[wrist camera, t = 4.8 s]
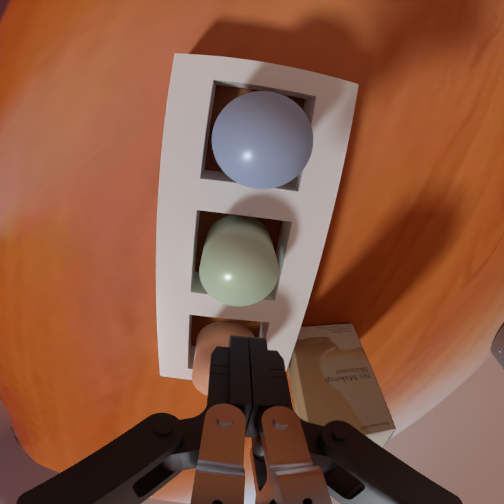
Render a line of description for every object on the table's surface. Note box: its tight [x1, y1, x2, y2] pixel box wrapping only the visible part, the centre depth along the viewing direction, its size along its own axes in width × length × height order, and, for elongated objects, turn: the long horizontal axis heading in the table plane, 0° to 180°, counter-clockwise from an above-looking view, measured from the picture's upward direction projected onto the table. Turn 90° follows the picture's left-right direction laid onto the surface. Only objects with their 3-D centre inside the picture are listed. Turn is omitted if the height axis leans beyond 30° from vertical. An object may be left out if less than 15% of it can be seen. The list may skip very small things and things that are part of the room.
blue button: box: [212, 91, 313, 189], centre depth 15 cm, size 5×5×4 cm
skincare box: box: [288, 324, 396, 448], centre depth 22 cm, size 6×4×12 cm
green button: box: [199, 215, 279, 306], centre depth 20 cm, size 5×5×4 cm
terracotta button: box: [192, 321, 254, 396], centre depth 22 cm, size 5×5×4 cm
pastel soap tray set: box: [156, 53, 359, 380], centre depth 21 cm, size 11×25×3 cm, turn 171°
